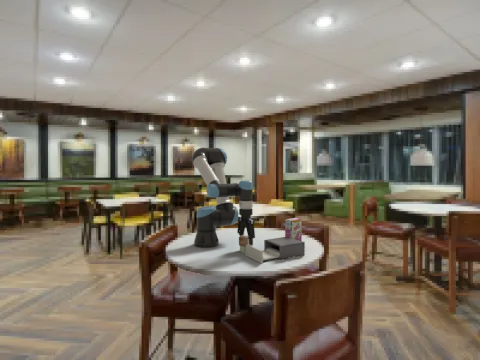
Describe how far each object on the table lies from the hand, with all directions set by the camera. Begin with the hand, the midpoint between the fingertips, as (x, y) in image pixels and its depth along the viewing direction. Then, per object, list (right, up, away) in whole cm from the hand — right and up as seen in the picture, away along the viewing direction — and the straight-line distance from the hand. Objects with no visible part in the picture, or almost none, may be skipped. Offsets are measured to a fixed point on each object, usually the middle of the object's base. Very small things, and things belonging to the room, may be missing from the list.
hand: (245, 248), depth 164 cm
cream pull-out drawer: (+10, -2, -10) cm, 15 cm away
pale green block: (0, -2, 0) cm, 2 cm away
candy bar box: (+29, -2, +12) cm, 31 cm away
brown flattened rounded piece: (0, +2, 0) cm, 2 cm away
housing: (+21, -2, -4) cm, 21 cm away
